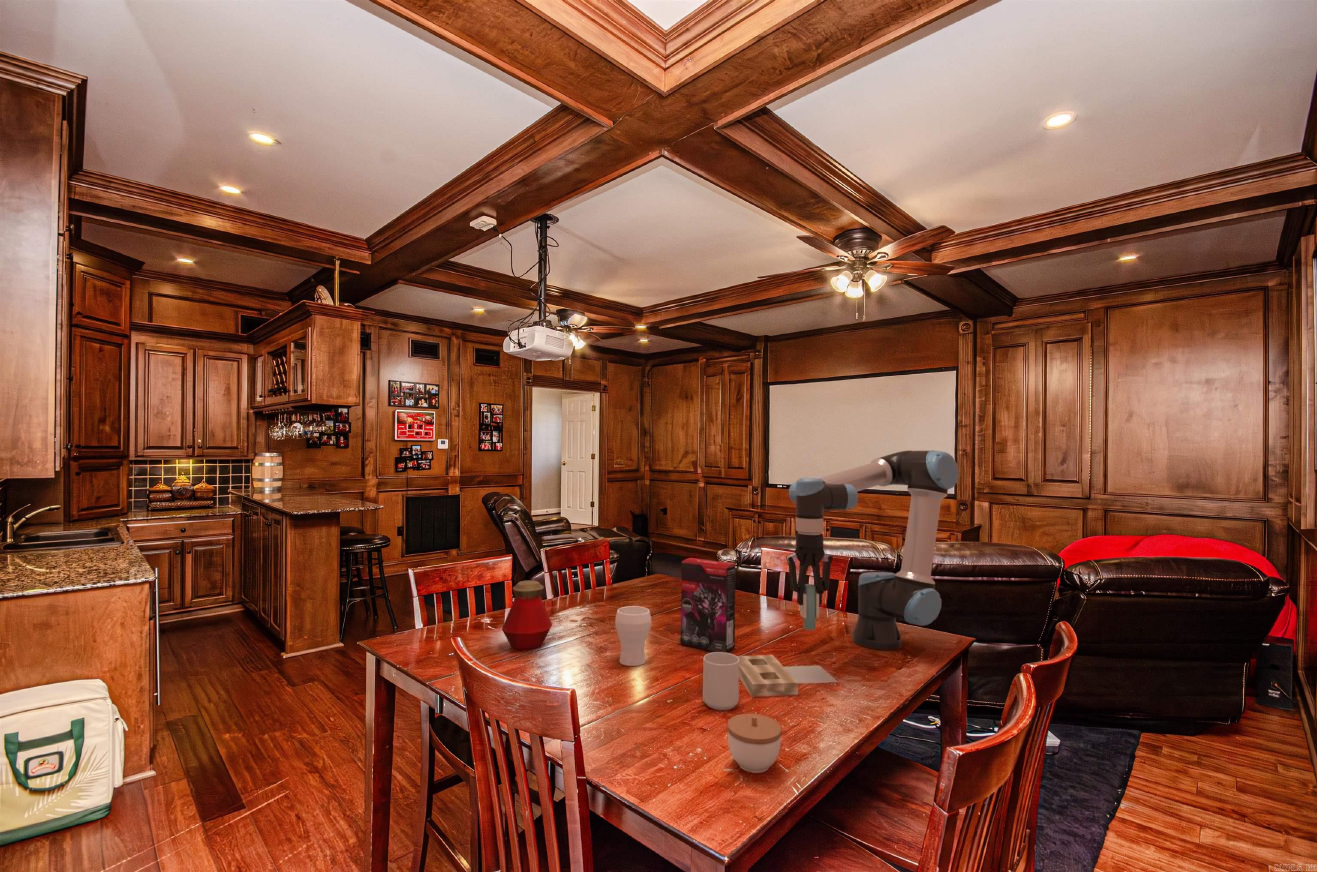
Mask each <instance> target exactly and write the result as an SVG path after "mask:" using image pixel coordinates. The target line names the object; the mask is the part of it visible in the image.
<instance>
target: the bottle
mask: <svg viewBox="0 0 1317 872" xmlns="http://www.w3.org/2000/svg"><path fill="white" fill-rule="evenodd" d="M544 587H545V586H544V585H542V584H541V583H540V582H539V581H537V580H523V581H522V580H521V581H519V582H518V583H516V584H515V586H513V587H512V588H511V590H512V592H513V594H514V600H513V602H512V605H511V606H510V609H509V612H508V614H507V616H506V618H505V621H504V623H503V625H502V628H501V631H502V633H503V634H504V636H505V638H506V640H507V641H508V643H509V644H508V645H510V647H511V648H512V649H513V650H516V651H530V650H531V651H532V650H536V649H539V648H541V647H542V645H543V643H544V642H545V640H546V638H547V636H548V634H549V633H550V630H551V628H552V626H553V623H552V620H551V618H550V616H549V613H548V611H547V609H546V605H545V604H544V601H543V599H542V598H543V597H541V594H542V593H543V590H544Z"/></svg>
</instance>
